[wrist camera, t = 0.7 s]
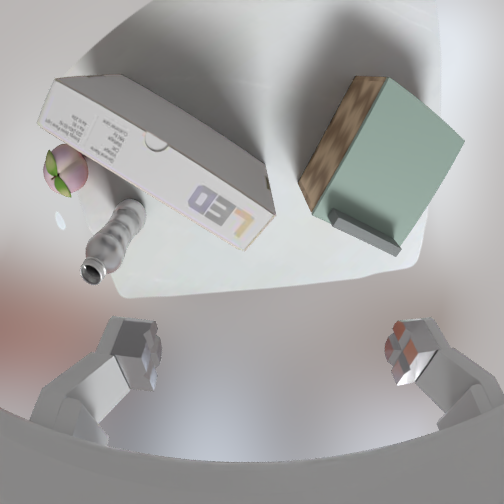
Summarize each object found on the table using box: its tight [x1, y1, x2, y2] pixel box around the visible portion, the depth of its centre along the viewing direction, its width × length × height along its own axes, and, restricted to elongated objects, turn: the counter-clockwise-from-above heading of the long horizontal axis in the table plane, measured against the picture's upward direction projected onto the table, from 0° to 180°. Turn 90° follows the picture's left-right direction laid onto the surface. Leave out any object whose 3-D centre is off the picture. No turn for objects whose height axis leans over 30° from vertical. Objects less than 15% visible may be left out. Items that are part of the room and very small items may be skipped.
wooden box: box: [298, 76, 386, 212], centre depth 42 cm, size 22×16×12 cm
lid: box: [312, 77, 465, 257], centre depth 35 cm, size 22×16×4 cm
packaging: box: [37, 74, 276, 251], centre depth 37 cm, size 30×6×20 cm, turn 53°
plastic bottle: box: [80, 199, 146, 285], centre depth 45 cm, size 6×7×20 cm
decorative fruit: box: [43, 144, 88, 197], centre depth 43 cm, size 9×8×10 cm
